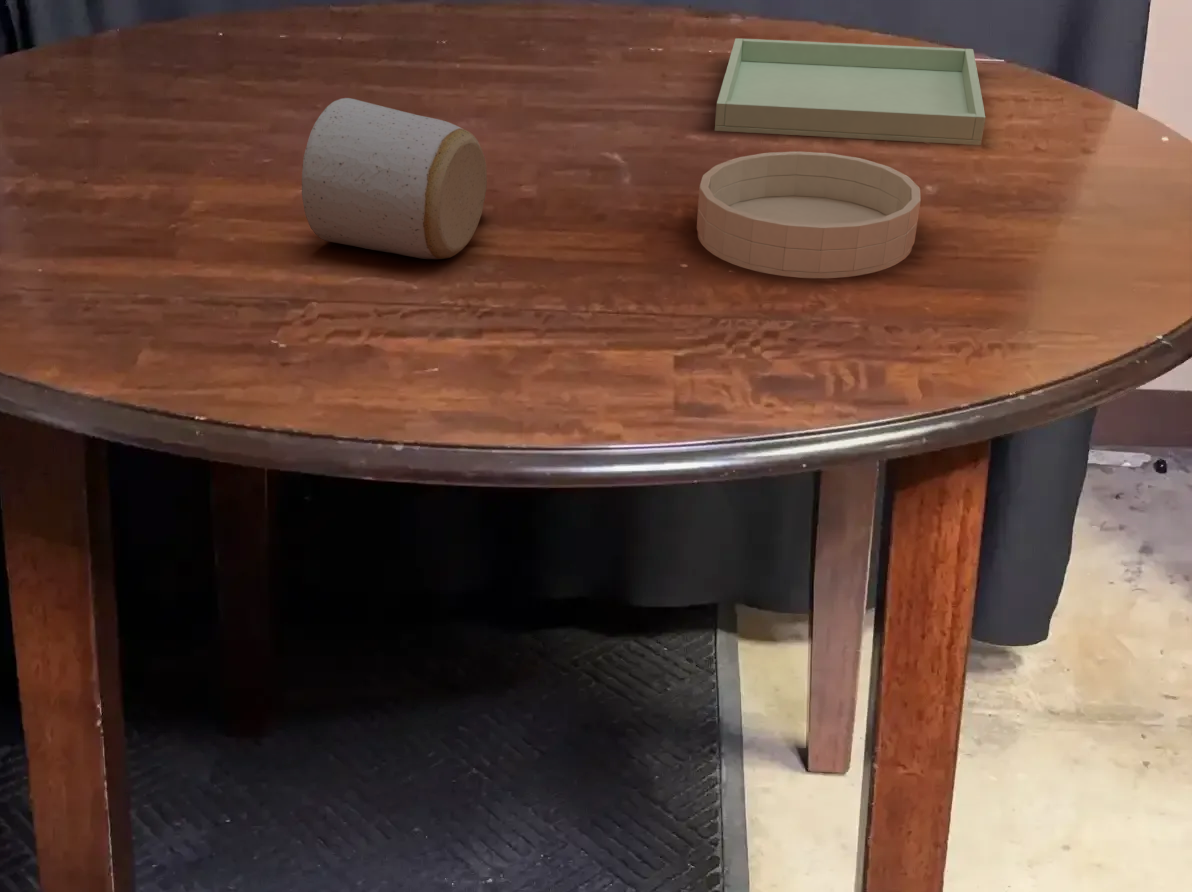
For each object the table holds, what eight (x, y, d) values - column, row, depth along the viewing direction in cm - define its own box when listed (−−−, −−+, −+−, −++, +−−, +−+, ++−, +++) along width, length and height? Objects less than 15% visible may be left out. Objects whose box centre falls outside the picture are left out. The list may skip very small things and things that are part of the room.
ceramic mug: (437, 284, 80) (433, 137, 76) (303, 260, 83) (291, 118, 78) (518, 220, 88) (518, 84, 84) (393, 200, 91) (387, 68, 86)
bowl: (910, 208, 89) (918, 157, 87) (914, 288, 80) (923, 233, 78) (707, 196, 91) (710, 146, 89) (686, 273, 81) (690, 218, 80)
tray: (968, 77, 111) (973, 48, 109) (980, 148, 98) (985, 116, 97) (733, 65, 113) (735, 37, 112) (714, 133, 100) (716, 102, 99)
